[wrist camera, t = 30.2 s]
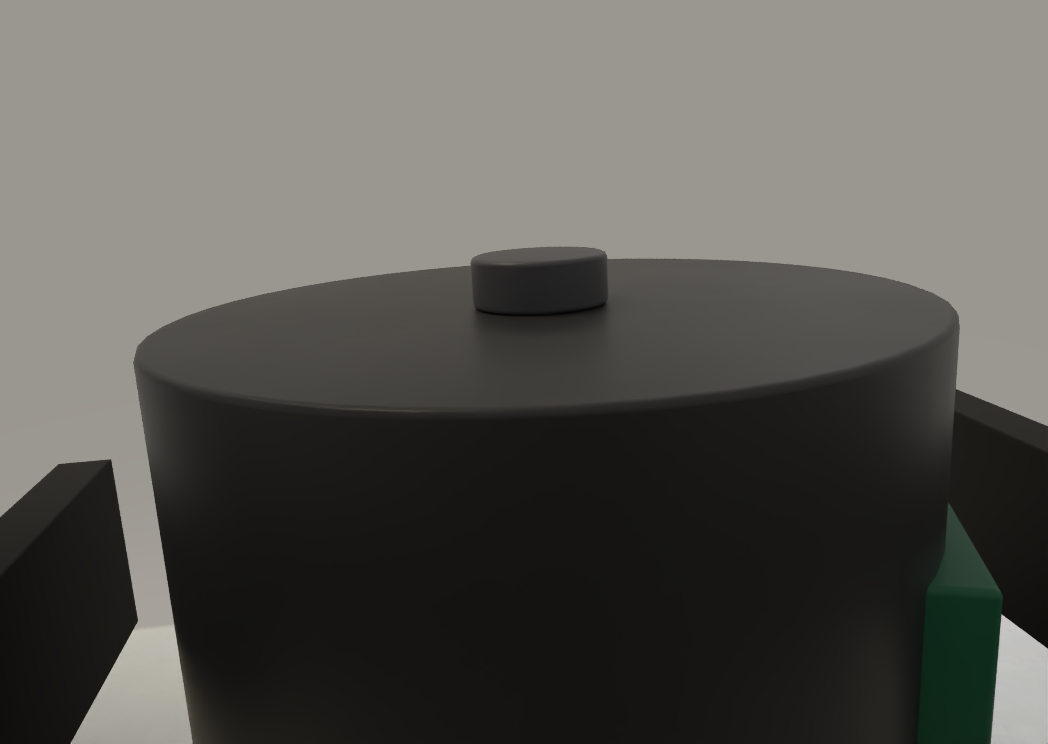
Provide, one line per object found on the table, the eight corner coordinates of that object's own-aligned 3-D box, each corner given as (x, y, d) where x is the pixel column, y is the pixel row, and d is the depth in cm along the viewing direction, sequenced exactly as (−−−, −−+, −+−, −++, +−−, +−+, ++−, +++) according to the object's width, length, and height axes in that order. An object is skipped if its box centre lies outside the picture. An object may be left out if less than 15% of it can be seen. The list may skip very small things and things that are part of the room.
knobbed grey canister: (94, 1280, 10) (-117, 330, 7) (393, 753, 18) (343, 230, 16) (1020, 1541, 8) (1168, 323, 5) (872, 806, 16) (901, 212, 14)
